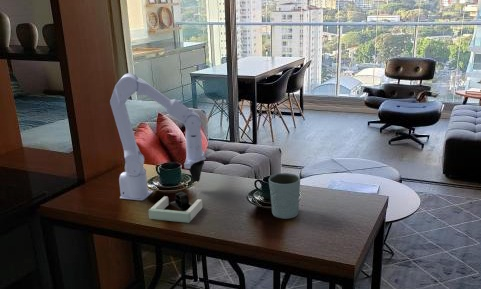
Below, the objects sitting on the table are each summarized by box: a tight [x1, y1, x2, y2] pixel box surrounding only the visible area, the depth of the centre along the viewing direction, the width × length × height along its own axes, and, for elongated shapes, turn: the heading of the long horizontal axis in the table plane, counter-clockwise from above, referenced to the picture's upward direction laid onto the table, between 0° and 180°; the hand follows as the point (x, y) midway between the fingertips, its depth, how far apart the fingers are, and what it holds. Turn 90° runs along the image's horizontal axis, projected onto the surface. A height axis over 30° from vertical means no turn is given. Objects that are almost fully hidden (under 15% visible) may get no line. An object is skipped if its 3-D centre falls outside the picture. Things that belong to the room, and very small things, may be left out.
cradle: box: [148, 195, 203, 224], centre depth 154 cm, size 14×12×3 cm
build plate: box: [169, 191, 194, 212], centre depth 161 cm, size 12×7×5 cm, turn 39°
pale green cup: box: [268, 172, 301, 220], centre depth 150 cm, size 10×10×12 cm
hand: (196, 180), depth 172 cm, fingers closed
